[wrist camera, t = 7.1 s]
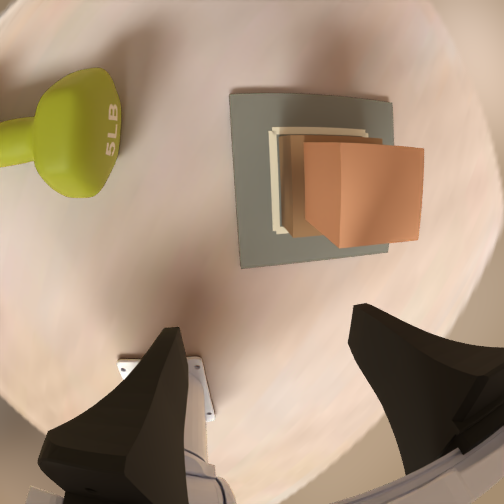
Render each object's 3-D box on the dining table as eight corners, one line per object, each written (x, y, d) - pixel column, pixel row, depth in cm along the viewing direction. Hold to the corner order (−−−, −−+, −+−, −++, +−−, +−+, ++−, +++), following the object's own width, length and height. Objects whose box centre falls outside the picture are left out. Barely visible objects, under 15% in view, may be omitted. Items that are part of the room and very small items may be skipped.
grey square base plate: (384, 249, 22) (388, 252, 22) (240, 265, 21) (241, 269, 21) (387, 103, 18) (392, 102, 17) (229, 95, 17) (229, 94, 16)
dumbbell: (134, 78, 16) (96, 47, 9) (126, 190, 18) (84, 215, 12) (-24, 109, 13) (-78, 110, 6) (-26, 196, 16) (-78, 217, 9)
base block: (359, 218, 20) (379, 230, 18) (281, 224, 20) (293, 237, 17) (360, 138, 18) (382, 138, 16) (278, 136, 18) (290, 135, 15)
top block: (371, 214, 17) (418, 240, 13) (305, 219, 17) (339, 248, 12) (372, 144, 16) (424, 148, 11) (303, 142, 15) (340, 142, 11)
